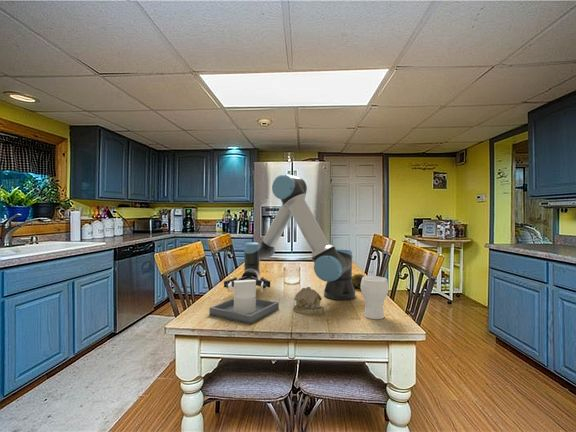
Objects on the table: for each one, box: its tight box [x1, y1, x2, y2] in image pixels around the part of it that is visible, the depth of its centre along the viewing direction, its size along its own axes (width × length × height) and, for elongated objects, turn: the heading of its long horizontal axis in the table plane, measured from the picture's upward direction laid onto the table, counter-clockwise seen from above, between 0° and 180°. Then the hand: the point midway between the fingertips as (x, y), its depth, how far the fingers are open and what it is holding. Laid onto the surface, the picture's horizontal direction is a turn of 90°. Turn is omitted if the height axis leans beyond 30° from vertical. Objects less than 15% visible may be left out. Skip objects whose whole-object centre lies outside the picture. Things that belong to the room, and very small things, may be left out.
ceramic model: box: [292, 286, 325, 317], centre depth 132 cm, size 14×11×10 cm
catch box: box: [209, 297, 280, 325], centre depth 129 cm, size 20×20×3 cm
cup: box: [360, 275, 389, 320], centre depth 125 cm, size 11×11×15 cm
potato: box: [352, 273, 365, 289], centre depth 171 cm, size 8×13×8 cm, turn 176°
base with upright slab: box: [233, 280, 257, 314], centre depth 129 cm, size 9×9×12 cm
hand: (245, 288), depth 130 cm, fingers open, 13 cm apart
